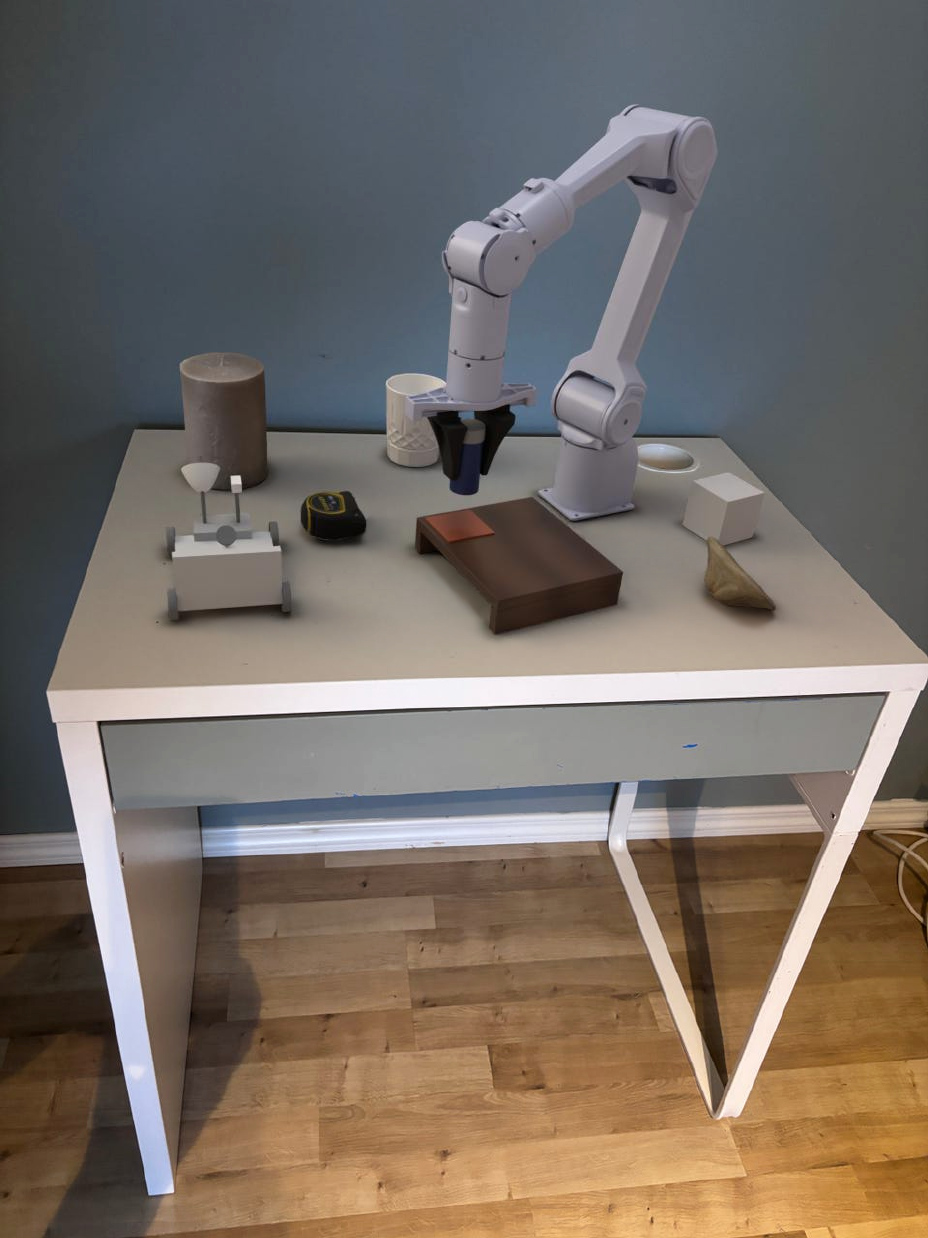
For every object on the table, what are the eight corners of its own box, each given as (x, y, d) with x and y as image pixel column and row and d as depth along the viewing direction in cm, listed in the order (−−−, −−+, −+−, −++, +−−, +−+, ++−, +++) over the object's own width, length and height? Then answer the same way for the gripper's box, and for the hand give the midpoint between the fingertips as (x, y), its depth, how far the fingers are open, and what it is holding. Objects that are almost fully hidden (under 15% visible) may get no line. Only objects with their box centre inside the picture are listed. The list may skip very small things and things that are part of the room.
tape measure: (367, 544, 110) (368, 514, 108) (306, 549, 108) (306, 518, 106) (354, 515, 115) (355, 486, 113) (295, 519, 113) (295, 490, 111)
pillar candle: (272, 458, 126) (269, 343, 118) (262, 493, 118) (258, 372, 110) (195, 454, 126) (186, 338, 117) (180, 488, 118) (169, 366, 109)
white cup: (389, 441, 134) (392, 370, 128) (447, 448, 133) (452, 377, 128) (377, 465, 127) (380, 391, 122) (437, 473, 127) (442, 399, 121)
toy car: (159, 452, 103) (272, 448, 106) (168, 534, 108) (274, 529, 111) (160, 536, 89) (290, 529, 91) (169, 626, 94) (292, 617, 97)
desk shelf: (528, 526, 117) (532, 494, 114) (617, 604, 104) (624, 570, 101) (414, 548, 110) (416, 515, 108) (494, 634, 97) (498, 598, 95)
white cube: (682, 525, 120) (692, 480, 117) (717, 515, 123) (728, 471, 120) (716, 547, 116) (728, 501, 113) (752, 537, 119) (764, 492, 116)
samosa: (764, 585, 98) (702, 522, 104) (731, 614, 99) (671, 551, 104) (786, 612, 105) (727, 552, 111) (755, 639, 106) (698, 579, 112)
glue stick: (470, 480, 109) (476, 416, 105) (485, 493, 107) (491, 428, 103) (443, 484, 108) (448, 420, 104) (457, 498, 106) (463, 432, 101)
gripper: (518, 332, 105) (504, 450, 112) (394, 343, 99) (389, 467, 106) (553, 354, 100) (537, 476, 107) (425, 367, 94) (417, 495, 101)
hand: (465, 473), depth 106 cm, fingers closed on glue stick, 3 cm apart
